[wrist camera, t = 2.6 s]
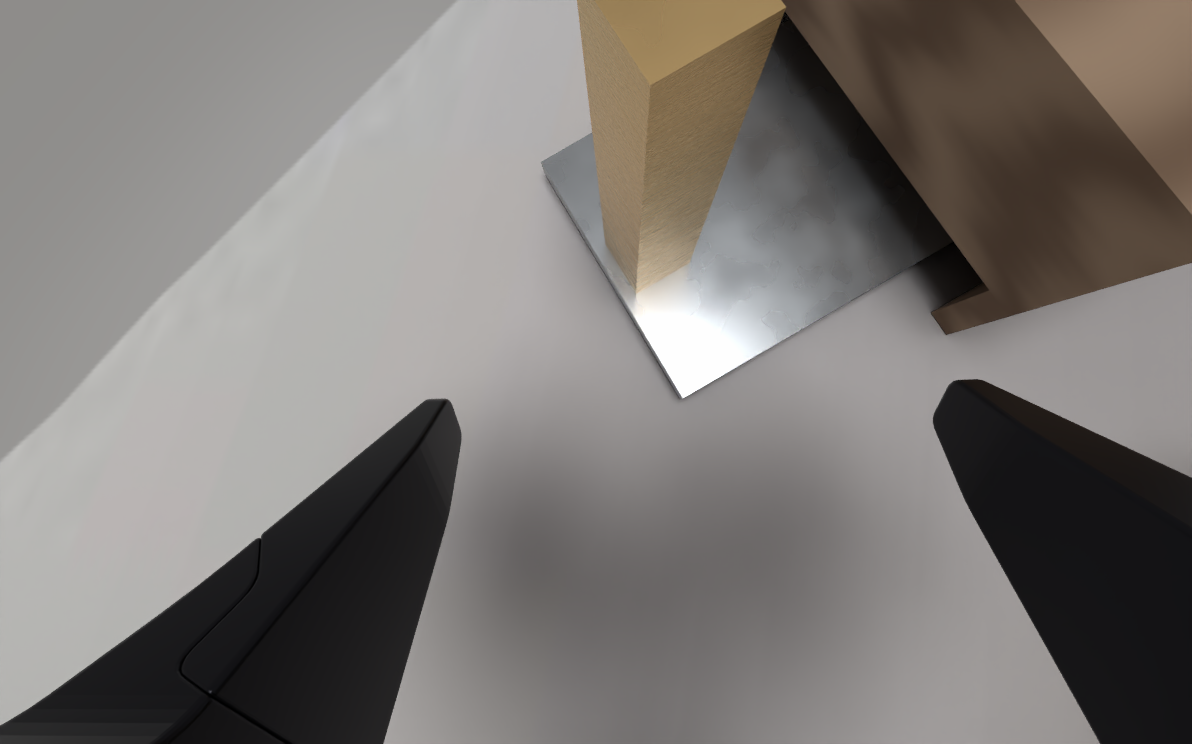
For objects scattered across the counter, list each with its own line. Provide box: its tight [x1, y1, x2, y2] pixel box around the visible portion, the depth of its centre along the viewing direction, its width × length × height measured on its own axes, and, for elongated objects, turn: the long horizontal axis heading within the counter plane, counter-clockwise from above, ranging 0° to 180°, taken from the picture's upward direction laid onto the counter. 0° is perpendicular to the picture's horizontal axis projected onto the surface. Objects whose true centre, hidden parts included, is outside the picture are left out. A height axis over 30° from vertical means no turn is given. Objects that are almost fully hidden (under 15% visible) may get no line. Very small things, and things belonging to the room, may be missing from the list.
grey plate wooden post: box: [541, 0, 954, 399], centre depth 15 cm, size 26×13×14 cm, turn 120°
